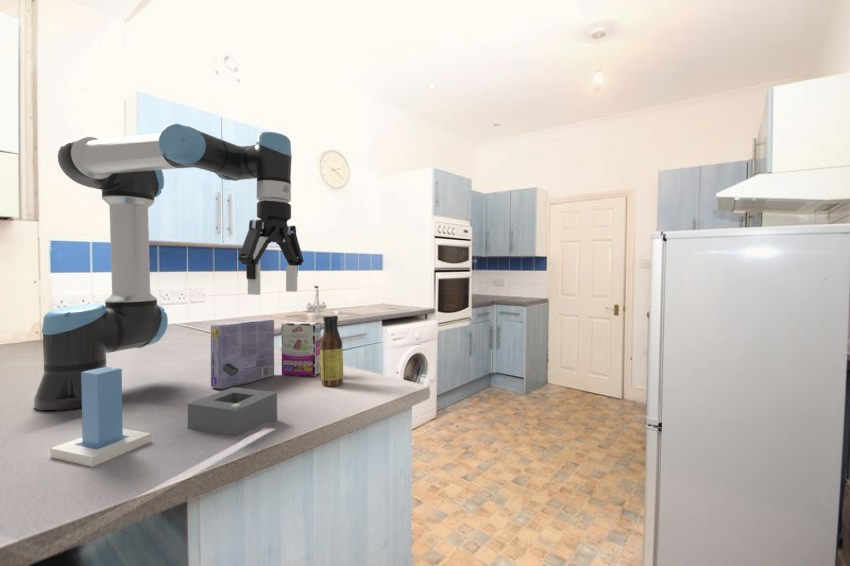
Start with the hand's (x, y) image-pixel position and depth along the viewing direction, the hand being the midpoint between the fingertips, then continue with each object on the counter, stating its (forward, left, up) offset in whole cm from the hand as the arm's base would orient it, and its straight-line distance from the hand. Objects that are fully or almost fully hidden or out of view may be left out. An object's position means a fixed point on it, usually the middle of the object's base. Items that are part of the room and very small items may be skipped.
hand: (274, 293), depth 95 cm
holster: (-12, -30, -27) cm, 42 cm away
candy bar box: (-12, +28, -28) cm, 41 cm away
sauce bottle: (+3, +22, -28) cm, 35 cm away
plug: (-12, -30, -26) cm, 42 cm away
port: (0, -12, -27) cm, 30 cm away
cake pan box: (-22, +16, -28) cm, 39 cm away
